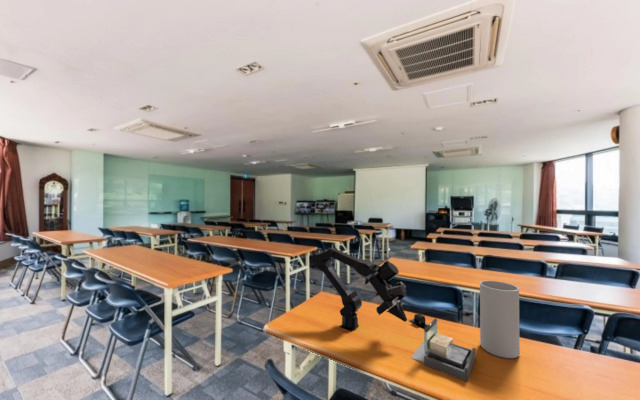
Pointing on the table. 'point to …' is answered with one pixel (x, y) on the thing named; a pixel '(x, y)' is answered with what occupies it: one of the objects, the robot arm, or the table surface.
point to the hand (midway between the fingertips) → (406, 321)
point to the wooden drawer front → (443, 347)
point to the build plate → (419, 321)
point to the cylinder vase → (499, 318)
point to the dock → (445, 366)
